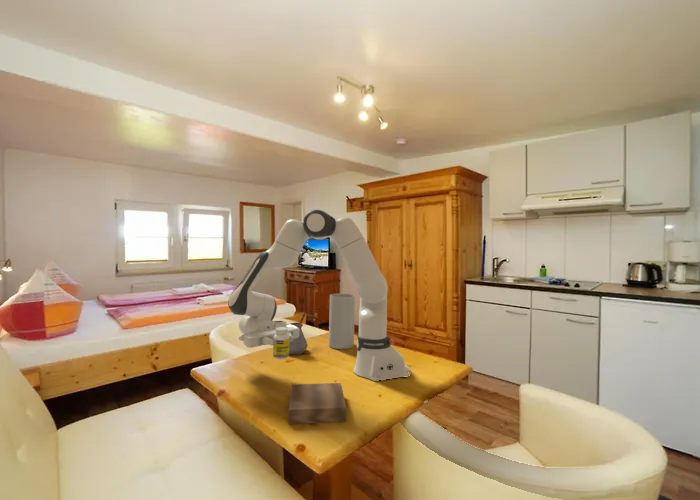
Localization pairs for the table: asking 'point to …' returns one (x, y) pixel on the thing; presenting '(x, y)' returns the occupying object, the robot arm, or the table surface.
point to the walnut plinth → (316, 403)
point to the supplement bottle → (281, 343)
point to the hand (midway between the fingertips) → (282, 341)
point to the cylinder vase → (341, 321)
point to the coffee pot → (298, 340)
